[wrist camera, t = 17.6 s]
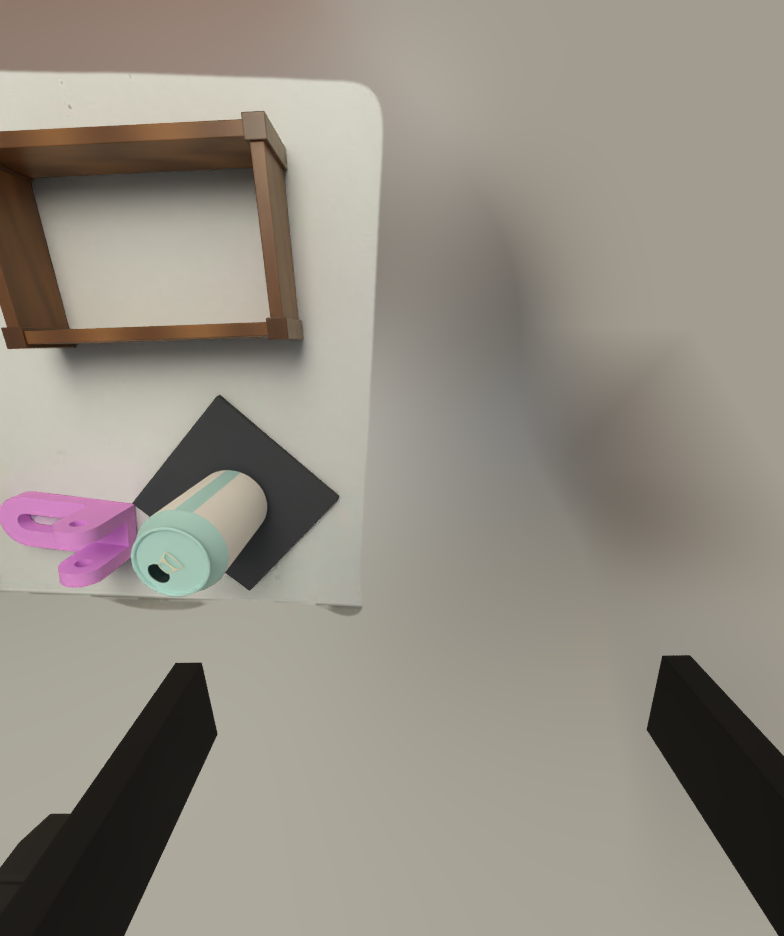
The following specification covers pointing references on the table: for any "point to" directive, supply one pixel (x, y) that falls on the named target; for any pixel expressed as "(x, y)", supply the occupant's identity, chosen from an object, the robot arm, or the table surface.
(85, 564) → the bracket
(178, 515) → the can
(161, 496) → the mat
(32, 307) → the crate
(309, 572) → the table surface
